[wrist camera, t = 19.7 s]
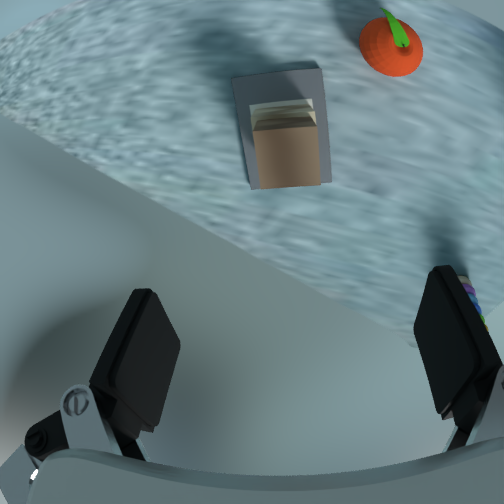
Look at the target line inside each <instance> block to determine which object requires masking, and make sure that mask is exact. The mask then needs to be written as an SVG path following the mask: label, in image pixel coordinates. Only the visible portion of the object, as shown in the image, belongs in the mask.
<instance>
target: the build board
mask: <svg viewBox="0 0 504 504" xmlns="http://www.w3.org/2000/svg"><path fill="white" fill-rule="evenodd" d="M231 82H232V87H233V93H234V98H235V103H236V109H237V114H238V120H239V125H240V131H241V136H242V141H243V147H244V152H245V158H246V164H247V169H248V175H249V180H250V186H251V190H254V189H261V188H260V181H259V173H258V166H257V159H256V152H255V145H254V138H253V130H252V124H251V116H252V114H253V112H254V111H255V109H261V108H269V107H279V106H289V105H301V104H309V105H310V106H311V107H312V108H313V110H314V111H315V117H316V125H317V130H318V144H319V161H320V181H321V183H330V182H332V175H331V159H330V145H329V132H328V121H327V111H326V101H325V92H324V84H323V76H322V69H321V68H316V69H301V70H290V71H280V72H271V73H263V74H256V75H249V76H242V77H236V78H231Z"/></svg>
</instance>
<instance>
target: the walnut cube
mask: <svg viewBox="0 0 504 504" xmlns="http://www.w3.org/2000/svg"><path fill="white" fill-rule="evenodd" d="M253 138H254V145H255V152H256V159H257V166H258V173H259V181H260V188H261V189H271V188H284V187H298V186H313V185H321V181H320V161H319V144H318V130H317V125H316V124H315V122H314V120H313V119H312V117H311V116H307V117H291V118H279V119H268V120H258V121H257V122H256V124H255V127H254V129H253Z"/></svg>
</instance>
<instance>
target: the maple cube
mask: <svg viewBox="0 0 504 504" xmlns="http://www.w3.org/2000/svg"><path fill="white" fill-rule="evenodd" d="M307 116H311V117H312V119H313V120H314V122H315V124H316V117H315V111H314V110H313V108H312V107H311V106H310V105H309V104H301V105H289V106H279V107H269V108H261V109H255V111H254V112H253V114H252V116H251V124H252V130H253V129H254V127H255V124H256V122H257V121H258V120H268V119H279V118H291V117H307Z"/></svg>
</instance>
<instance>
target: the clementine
mask: <svg viewBox="0 0 504 504" xmlns="http://www.w3.org/2000/svg"><path fill="white" fill-rule="evenodd" d="M381 9H382V10H383V11H384V13H385V14H386V16H387V18H377V19H374V20H372V21H371V22H369V23H368V24H367V25H366V26H365V27H364V29H363V30H362V32H361V35H360V37H359V46H360V50H361V53H362V55H363V57H364V59H365V60H366V61H367V63H368V64H369V65H370V66H371V67H372V68H374V69H375V70H376V71H378V72H380V73H383V74H385V75H388V76H393V77H398V76H405V75H408V74H410V73H412V72H413V71H415V70H416V69H417V67H418V66H419V65H420V63H421V60H422V57H423V47H422V43H421V40H420V38H419V36H418V35H417V33H416V32H415V31H414V30H413V29H412V28H411V27H410V26H409V25H407V24H406V23H404V22H402V21H401V20H399V19H396V18H395V17H394V16H393V15H392V14H391V13H390V12H388V11H387V10H385V9H383V8H381Z"/></svg>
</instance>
